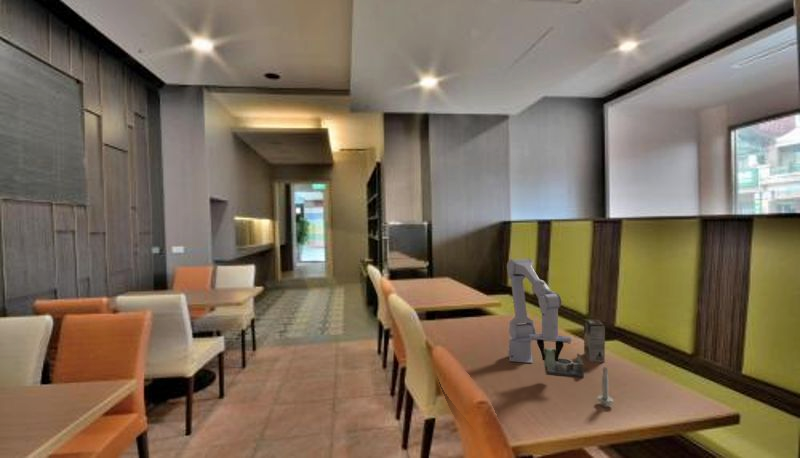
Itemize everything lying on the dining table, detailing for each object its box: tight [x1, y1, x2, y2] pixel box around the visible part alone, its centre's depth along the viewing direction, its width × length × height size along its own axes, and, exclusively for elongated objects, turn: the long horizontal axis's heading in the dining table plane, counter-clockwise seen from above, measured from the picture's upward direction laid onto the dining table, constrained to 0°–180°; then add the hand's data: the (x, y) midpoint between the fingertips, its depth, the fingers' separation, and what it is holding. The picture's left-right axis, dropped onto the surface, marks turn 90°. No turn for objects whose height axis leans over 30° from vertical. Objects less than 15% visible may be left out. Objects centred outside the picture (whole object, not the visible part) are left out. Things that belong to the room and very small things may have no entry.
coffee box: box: [583, 318, 606, 363], centre depth 165 cm, size 9×6×16 cm
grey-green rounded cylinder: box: [543, 347, 556, 368], centre depth 143 cm, size 4×4×6 cm
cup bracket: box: [546, 353, 585, 378], centre depth 153 cm, size 13×12×5 cm
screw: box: [596, 366, 614, 408], centre depth 124 cm, size 13×5×5 cm
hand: (549, 360), depth 143 cm, fingers closed on grey-green rounded cylinder, 4 cm apart
